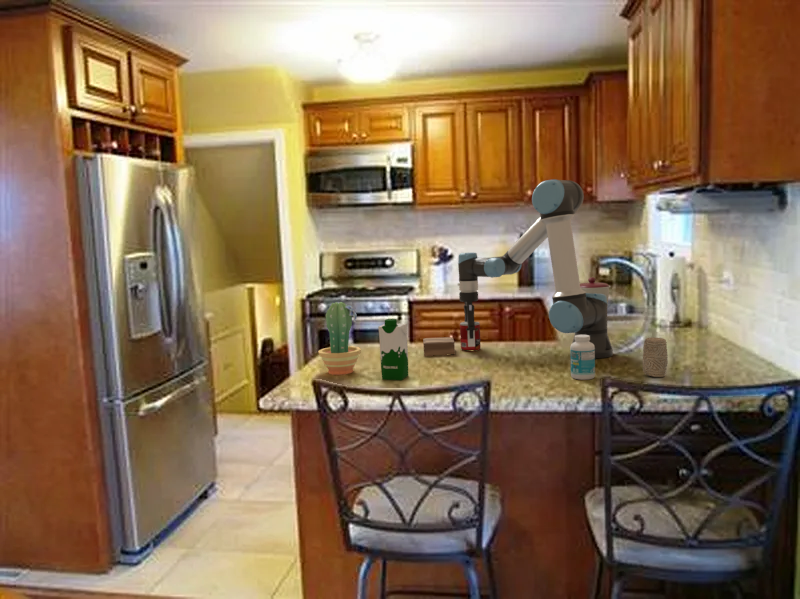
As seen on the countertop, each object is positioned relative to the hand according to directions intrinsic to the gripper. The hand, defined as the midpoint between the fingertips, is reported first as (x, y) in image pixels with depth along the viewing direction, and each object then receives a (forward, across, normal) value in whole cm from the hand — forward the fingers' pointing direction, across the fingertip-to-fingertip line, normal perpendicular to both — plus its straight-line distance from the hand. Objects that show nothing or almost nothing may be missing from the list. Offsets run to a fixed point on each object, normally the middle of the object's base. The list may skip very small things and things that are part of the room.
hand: (470, 343), depth 268 cm
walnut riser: (+2, +4, -13) cm, 14 cm away
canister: (+3, -74, +68) cm, 101 cm away
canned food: (+3, 0, 0) cm, 3 cm away
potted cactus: (+3, +33, -49) cm, 59 cm away
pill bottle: (+2, +57, +31) cm, 65 cm away
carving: (+2, +59, +53) cm, 80 cm away
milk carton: (+3, +46, -29) cm, 54 cm away
